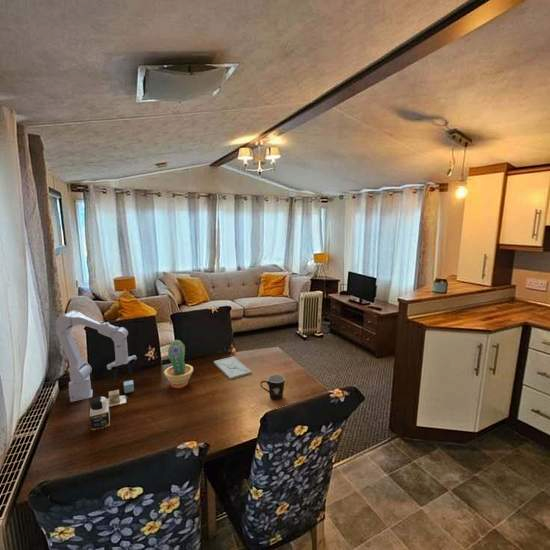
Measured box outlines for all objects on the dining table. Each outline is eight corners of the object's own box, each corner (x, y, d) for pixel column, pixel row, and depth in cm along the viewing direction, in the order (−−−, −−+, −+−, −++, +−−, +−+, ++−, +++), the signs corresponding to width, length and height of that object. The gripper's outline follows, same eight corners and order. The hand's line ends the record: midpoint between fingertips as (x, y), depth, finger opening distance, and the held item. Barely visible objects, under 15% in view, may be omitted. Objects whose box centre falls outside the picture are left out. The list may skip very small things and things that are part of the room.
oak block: (109, 404, 156) (108, 396, 155) (109, 400, 160) (108, 391, 159) (119, 402, 158) (119, 393, 157) (119, 397, 162) (118, 389, 161)
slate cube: (124, 393, 166) (124, 385, 165) (124, 389, 170) (123, 381, 169) (134, 391, 168) (133, 383, 167) (133, 387, 172) (132, 380, 171)
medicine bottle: (91, 431, 137) (88, 405, 134) (91, 422, 143) (89, 397, 141) (109, 426, 140) (107, 401, 138) (109, 417, 146) (107, 393, 144)
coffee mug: (287, 394, 165) (287, 376, 164) (280, 403, 158) (280, 384, 156) (267, 389, 170) (267, 372, 169) (259, 397, 163) (259, 379, 161)
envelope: (230, 380, 181) (251, 374, 188) (230, 377, 181) (251, 371, 188) (213, 364, 201) (233, 359, 208) (213, 360, 200) (233, 355, 208)
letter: (103, 408, 153) (103, 408, 153) (103, 400, 160) (103, 399, 160) (127, 402, 158) (127, 402, 158) (126, 394, 165) (126, 394, 165)
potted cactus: (158, 387, 172) (155, 343, 168) (177, 375, 186) (175, 333, 182) (182, 393, 166) (179, 347, 162) (199, 380, 180) (197, 337, 176)
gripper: (111, 359, 153) (113, 385, 155) (139, 349, 165) (141, 374, 167) (103, 355, 157) (106, 381, 159) (131, 346, 169) (133, 370, 171)
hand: (123, 377), depth 163 cm, fingers open, 7 cm apart
